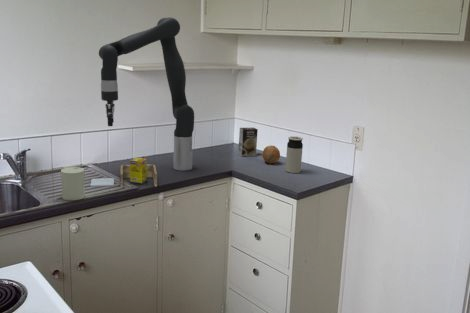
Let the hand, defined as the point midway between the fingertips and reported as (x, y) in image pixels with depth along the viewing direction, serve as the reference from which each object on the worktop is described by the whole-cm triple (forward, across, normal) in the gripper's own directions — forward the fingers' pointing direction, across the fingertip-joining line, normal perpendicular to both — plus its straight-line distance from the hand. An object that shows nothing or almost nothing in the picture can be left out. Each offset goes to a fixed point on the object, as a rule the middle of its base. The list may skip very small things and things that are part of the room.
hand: (110, 124), depth 227 cm
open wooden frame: (+25, -13, -12) cm, 30 cm away
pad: (+24, -13, +4) cm, 28 cm away
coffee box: (+26, +37, -75) cm, 88 cm away
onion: (+26, +19, -84) cm, 90 cm away
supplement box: (+25, -13, -12) cm, 31 cm away
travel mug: (+27, +2, -92) cm, 96 cm away
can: (+24, -31, +14) cm, 42 cm away
